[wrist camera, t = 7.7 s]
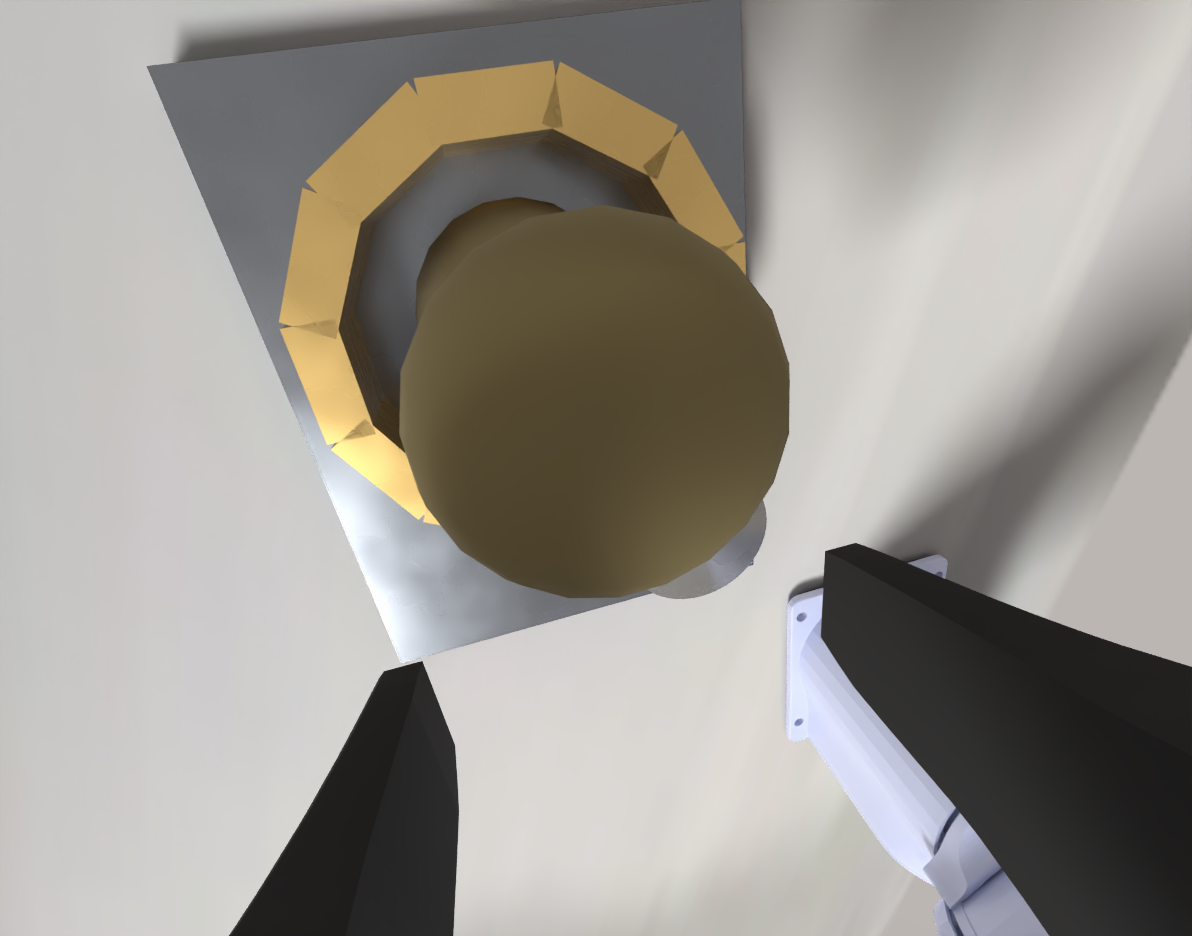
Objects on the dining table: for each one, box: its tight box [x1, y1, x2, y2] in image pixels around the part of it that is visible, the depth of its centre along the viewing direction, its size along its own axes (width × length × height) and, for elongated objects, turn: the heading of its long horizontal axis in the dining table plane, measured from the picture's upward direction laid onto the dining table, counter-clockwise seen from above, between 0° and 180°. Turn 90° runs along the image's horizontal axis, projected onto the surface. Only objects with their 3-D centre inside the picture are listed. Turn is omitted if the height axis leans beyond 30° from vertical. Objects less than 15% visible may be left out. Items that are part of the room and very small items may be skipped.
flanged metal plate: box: [147, 0, 766, 663], centre depth 16 cm, size 18×14×4 cm
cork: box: [399, 197, 790, 598], centre depth 11 cm, size 6×6×11 cm
